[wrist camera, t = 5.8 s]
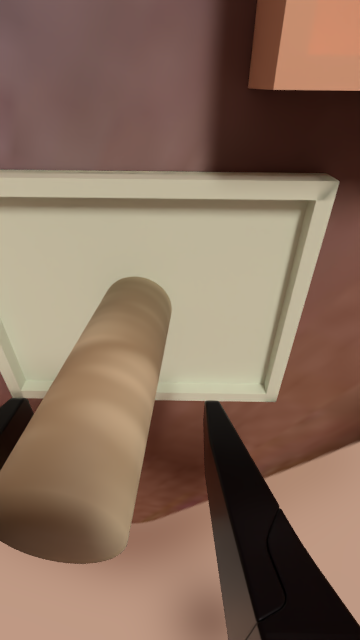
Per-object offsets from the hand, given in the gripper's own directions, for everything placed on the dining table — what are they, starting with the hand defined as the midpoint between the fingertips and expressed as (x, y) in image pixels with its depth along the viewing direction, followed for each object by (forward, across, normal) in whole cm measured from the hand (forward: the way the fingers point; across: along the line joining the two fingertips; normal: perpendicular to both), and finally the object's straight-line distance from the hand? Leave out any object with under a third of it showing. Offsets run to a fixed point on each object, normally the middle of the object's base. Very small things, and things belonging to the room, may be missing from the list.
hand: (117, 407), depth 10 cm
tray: (+6, 0, 0) cm, 6 cm away
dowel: (+5, 0, 0) cm, 5 cm away
